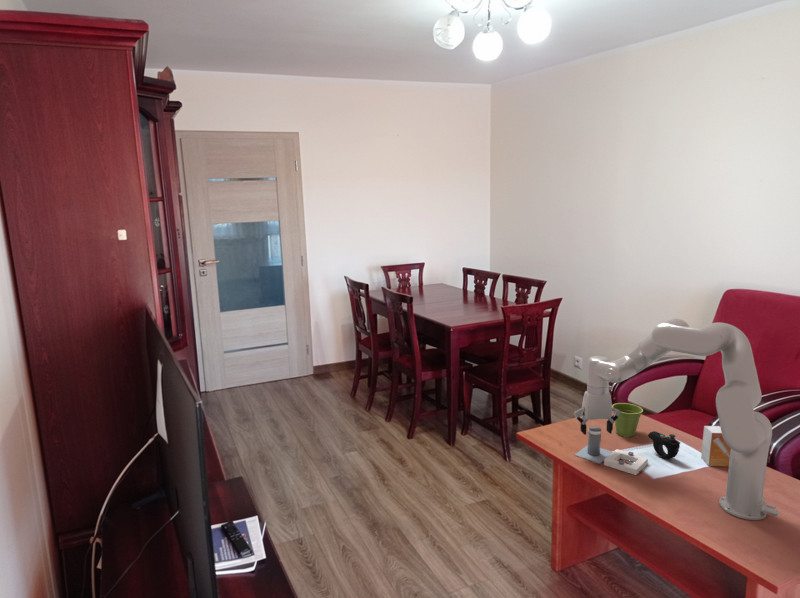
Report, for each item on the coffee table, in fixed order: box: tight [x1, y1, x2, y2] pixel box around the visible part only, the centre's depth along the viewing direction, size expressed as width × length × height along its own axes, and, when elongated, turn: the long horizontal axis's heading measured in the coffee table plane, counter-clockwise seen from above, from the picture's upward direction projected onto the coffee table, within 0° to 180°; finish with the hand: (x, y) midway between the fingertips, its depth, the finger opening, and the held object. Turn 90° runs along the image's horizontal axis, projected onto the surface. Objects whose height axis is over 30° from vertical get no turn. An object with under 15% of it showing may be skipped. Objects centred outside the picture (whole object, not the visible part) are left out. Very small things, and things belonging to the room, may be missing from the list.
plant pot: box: [612, 402, 644, 438], centre depth 222 cm, size 12×12×11 cm
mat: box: [574, 444, 614, 465], centre depth 206 cm, size 10×12×1 cm
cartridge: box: [587, 425, 602, 456], centre depth 205 cm, size 5×5×10 cm
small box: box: [700, 425, 731, 468], centre depth 197 cm, size 8×6×13 cm
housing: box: [603, 448, 649, 476], centre depth 197 cm, size 12×12×3 cm
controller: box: [647, 430, 681, 460], centre depth 202 cm, size 4×12×10 cm, turn 23°
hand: (596, 432), depth 204 cm, fingers open, 9 cm apart
